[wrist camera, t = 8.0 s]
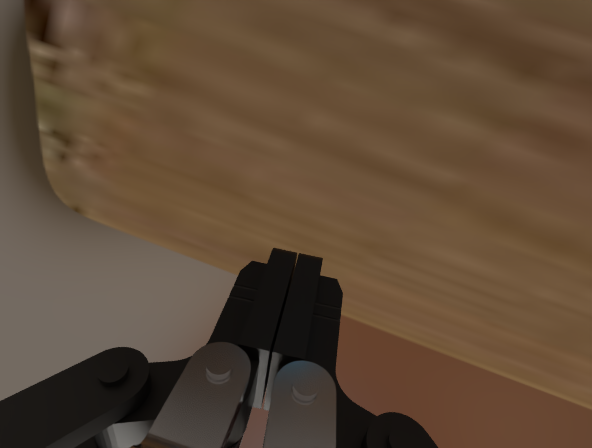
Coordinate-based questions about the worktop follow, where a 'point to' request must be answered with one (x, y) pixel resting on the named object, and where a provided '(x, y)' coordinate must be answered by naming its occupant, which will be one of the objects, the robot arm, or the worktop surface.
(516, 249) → the worktop surface
